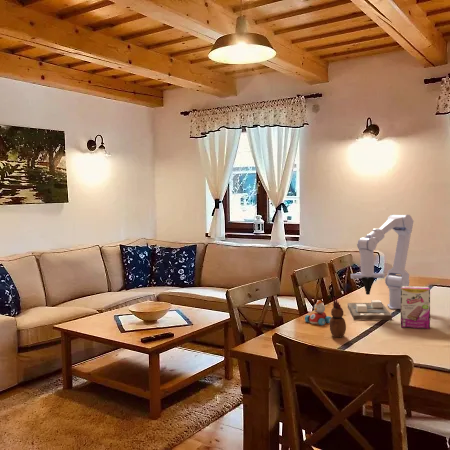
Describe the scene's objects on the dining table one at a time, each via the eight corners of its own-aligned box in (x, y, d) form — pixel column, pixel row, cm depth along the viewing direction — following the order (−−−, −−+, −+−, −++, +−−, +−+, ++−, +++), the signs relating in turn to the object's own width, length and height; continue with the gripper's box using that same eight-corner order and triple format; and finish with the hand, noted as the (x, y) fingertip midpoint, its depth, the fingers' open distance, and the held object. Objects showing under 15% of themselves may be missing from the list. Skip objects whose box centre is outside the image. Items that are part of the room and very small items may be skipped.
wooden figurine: (328, 334, 192) (327, 296, 191) (342, 333, 193) (341, 295, 192) (333, 339, 185) (332, 300, 185) (348, 338, 186) (347, 299, 185)
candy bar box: (400, 328, 197) (400, 287, 196) (400, 324, 202) (400, 285, 201) (430, 329, 193) (430, 288, 192) (429, 326, 198) (429, 286, 197)
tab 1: (365, 309, 219) (365, 304, 219) (366, 311, 215) (366, 306, 215) (356, 309, 220) (356, 304, 220) (357, 311, 216) (357, 306, 216)
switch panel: (381, 306, 233) (381, 302, 233) (392, 319, 209) (391, 314, 209) (347, 307, 235) (347, 302, 235) (353, 319, 212) (353, 314, 211)
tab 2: (380, 305, 226) (380, 300, 226) (381, 307, 222) (381, 302, 222) (371, 305, 227) (371, 300, 227) (372, 307, 223) (372, 302, 223)
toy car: (303, 322, 211) (302, 300, 210) (316, 318, 216) (315, 296, 216) (320, 326, 204) (319, 303, 203) (333, 322, 209) (332, 299, 209)
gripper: (351, 265, 215) (352, 296, 216) (385, 265, 214) (386, 295, 214) (349, 263, 222) (350, 292, 223) (382, 262, 221) (383, 292, 221)
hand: (367, 294), depth 219 cm, fingers closed
